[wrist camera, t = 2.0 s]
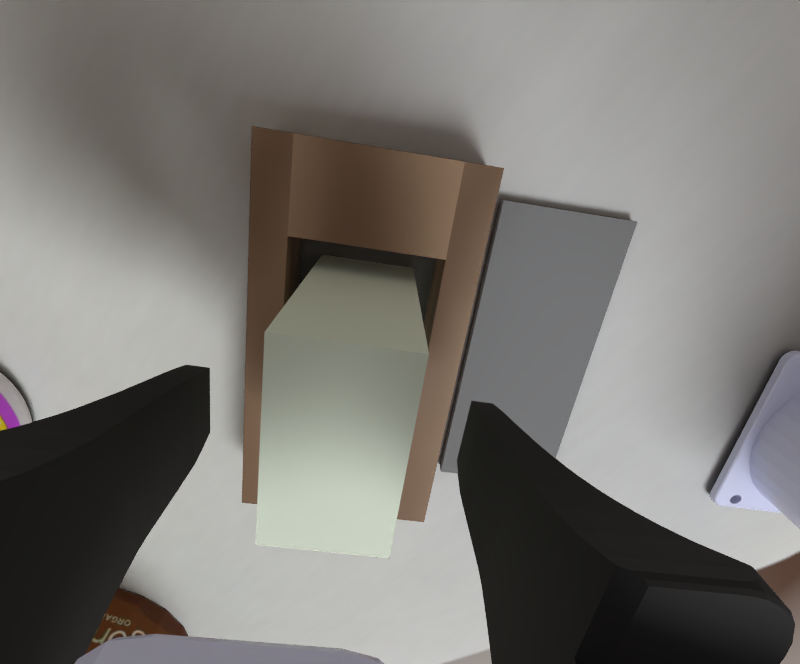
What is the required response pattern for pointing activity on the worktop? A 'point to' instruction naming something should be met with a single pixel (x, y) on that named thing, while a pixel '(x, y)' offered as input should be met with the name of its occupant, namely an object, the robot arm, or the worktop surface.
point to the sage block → (340, 408)
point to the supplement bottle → (12, 406)
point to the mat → (538, 318)
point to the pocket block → (376, 229)
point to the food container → (134, 619)
